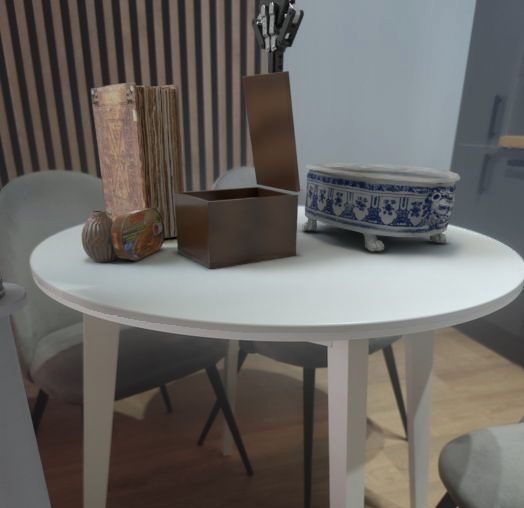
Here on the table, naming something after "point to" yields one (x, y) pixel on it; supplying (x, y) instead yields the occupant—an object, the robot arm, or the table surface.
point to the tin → (138, 234)
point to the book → (139, 149)
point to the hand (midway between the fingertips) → (275, 76)
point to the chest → (236, 225)
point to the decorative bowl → (380, 200)
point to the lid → (272, 130)
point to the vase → (98, 237)
